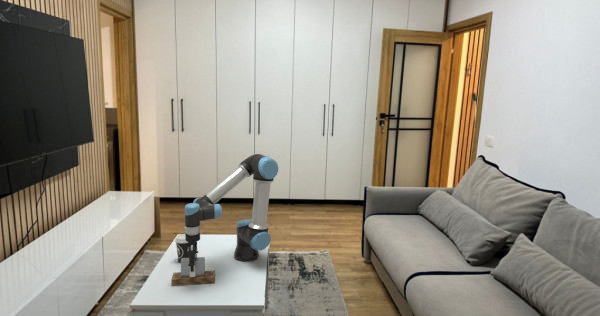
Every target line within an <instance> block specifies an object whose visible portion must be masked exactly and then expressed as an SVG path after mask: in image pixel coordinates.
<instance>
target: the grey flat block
mask: <svg viewBox="0 0 600 316" xmlns="http://www.w3.org/2000/svg"><path fill="white" fill-rule="evenodd" d="M205 258H206V257H205V256H203V257H202V256H201V257H200V256H197V257H195V277H197V276H198V277H200V276H205V271H206V266H205V265H206V263H205V262H206V261H205V260H206V259H205ZM188 264H189V258H181V263H180V272H181V277H190V268H189V266H188Z"/></svg>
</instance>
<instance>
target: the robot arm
mask: <svg viewBox="0 0 600 316" xmlns="http://www.w3.org/2000/svg"><path fill="white" fill-rule="evenodd" d="M278 173H279V165H278V162H277V161H276V160H275V159H274V158H272V157H270V156H266V155H263V154H260V153H254V154H252V155H249V156H248V157H247V158H245V159H244V160H242V161H241V162H240V163H239V164H238V165H237V168H235V169H234V170H233V171H232V172H230V174H228V175H227V176H226V177H225V178H223V179H222V180H221V181H219V183H218V184H216V185H215V186H214V187H212V188H211V189H210V190H209V191H208V192H207V193H205V194H204V195H203V196H202V197H196V198H195V199H194V200H193V202H191V203H187V204H186V205H185V206H184V227H183V229H184V230H185V233H184V234H185V240H186V241H187V242H190V243H189V264H188V266H189V268H190V277H195V257H198V254H199V250H198V241H199V242H200V240H201V233H200V232H201V222H202V221H210V220H216V219H219V218H221V217H222V215H223V208H222V206H221V204H219V203H218V202H219V201H220V200H221V199H222V198H223V197H225V196H226V195H227V194H229V192H230V191H232V190H233V189H234V188H235V187H236V186H238V185H239V184H240V183H242V181H244V180H245V179H246V178H251V176H253V177H252V178H253V180H254V183H255V185H254V193H253V204H252V215H251V219H249V218H247V219H241V220H239V221H237V223H236V245H235V246H236V247H235V250H234V253H233V258H234V260H236V261H238V262H239V261H240V262H251V261H252V262H253V261H256V260H257V259H258V258H259V257H260V253H259V252H260V251H264V250H266V249H267V247H269V245H270V244H271V240H272V237H271V234H270V233H269V225H268V223H267V221H268V211H269V210H268V209H269V204H270V203H269V201H270V191H271V184H272V183H273V182H274V179H275V177H276V176H277V175H278Z"/></svg>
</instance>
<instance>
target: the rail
mask: <svg viewBox="0 0 600 316" xmlns="http://www.w3.org/2000/svg"><path fill="white" fill-rule="evenodd" d="M170 280H171V287H173V286H176V287H177V286H191V285H194V286H196V285H209V284H213V285H214V284H215V283H216V270H205V276H200V277H198V276H197V277H181V271H179V272H177V271H175V272H173V273H172V277H171V279H170Z"/></svg>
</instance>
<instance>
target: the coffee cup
mask: <svg viewBox="0 0 600 316" xmlns="http://www.w3.org/2000/svg"><path fill="white" fill-rule="evenodd" d="M185 234H186V233H184V234H179V235H177V236H176V237H175V240H174V242H175V246H176V253H177V261H178V263H180V264H181V258H189V243H190V242H187V241H186V240H185Z"/></svg>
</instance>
